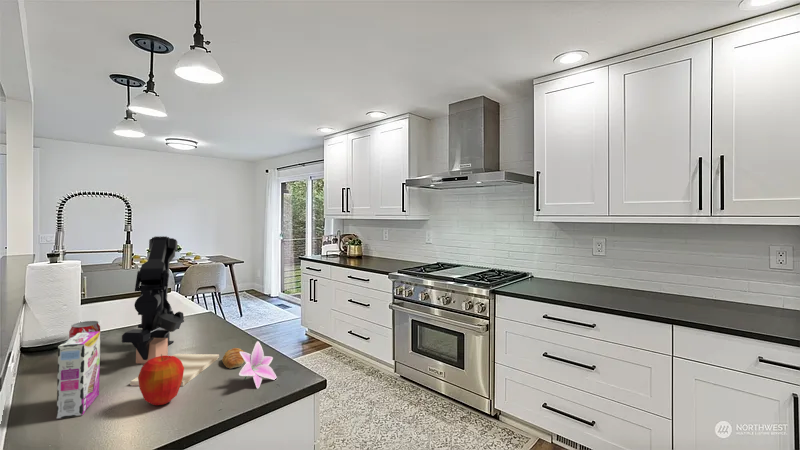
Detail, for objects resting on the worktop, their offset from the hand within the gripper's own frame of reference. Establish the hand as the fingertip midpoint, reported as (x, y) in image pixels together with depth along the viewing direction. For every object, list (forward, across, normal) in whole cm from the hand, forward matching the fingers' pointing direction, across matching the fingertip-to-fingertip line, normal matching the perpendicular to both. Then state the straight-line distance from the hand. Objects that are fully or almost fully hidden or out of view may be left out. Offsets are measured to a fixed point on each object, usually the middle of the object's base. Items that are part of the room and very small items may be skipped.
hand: (152, 355), depth 117 cm
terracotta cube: (+1, 0, 0) cm, 1 cm away
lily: (+2, -15, -38) cm, 41 cm away
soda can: (+1, -6, +16) cm, 17 cm away
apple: (+1, -27, -20) cm, 34 cm away
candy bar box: (+2, -29, -2) cm, 29 cm away
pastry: (+2, -1, -27) cm, 27 cm away
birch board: (+1, -8, -13) cm, 15 cm away
